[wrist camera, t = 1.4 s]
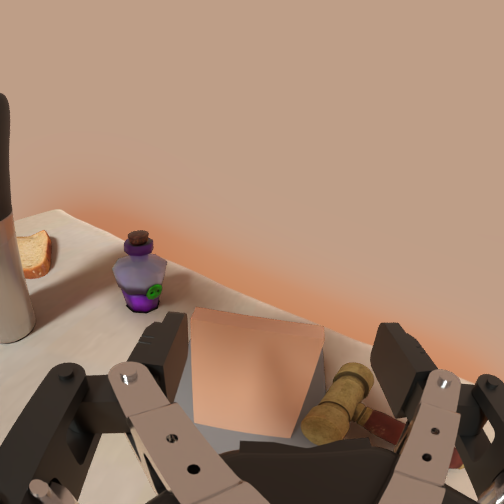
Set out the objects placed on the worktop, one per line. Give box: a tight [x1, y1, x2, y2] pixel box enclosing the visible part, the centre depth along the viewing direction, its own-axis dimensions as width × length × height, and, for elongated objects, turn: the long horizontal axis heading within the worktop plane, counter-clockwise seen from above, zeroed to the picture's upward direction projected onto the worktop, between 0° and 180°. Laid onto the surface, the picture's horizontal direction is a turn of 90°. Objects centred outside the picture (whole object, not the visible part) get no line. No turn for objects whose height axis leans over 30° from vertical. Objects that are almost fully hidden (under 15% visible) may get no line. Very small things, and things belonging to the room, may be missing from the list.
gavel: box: [301, 363, 465, 469], centre depth 26 cm, size 21×5×10 cm
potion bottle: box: [112, 230, 167, 313], centre depth 45 cm, size 9×9×12 cm
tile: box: [191, 307, 325, 438], centre depth 26 cm, size 10×2×14 cm, turn 83°
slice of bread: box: [16, 230, 52, 279], centre depth 56 cm, size 18×18×4 cm
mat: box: [174, 339, 326, 454], centre depth 34 cm, size 18×20×1 cm
